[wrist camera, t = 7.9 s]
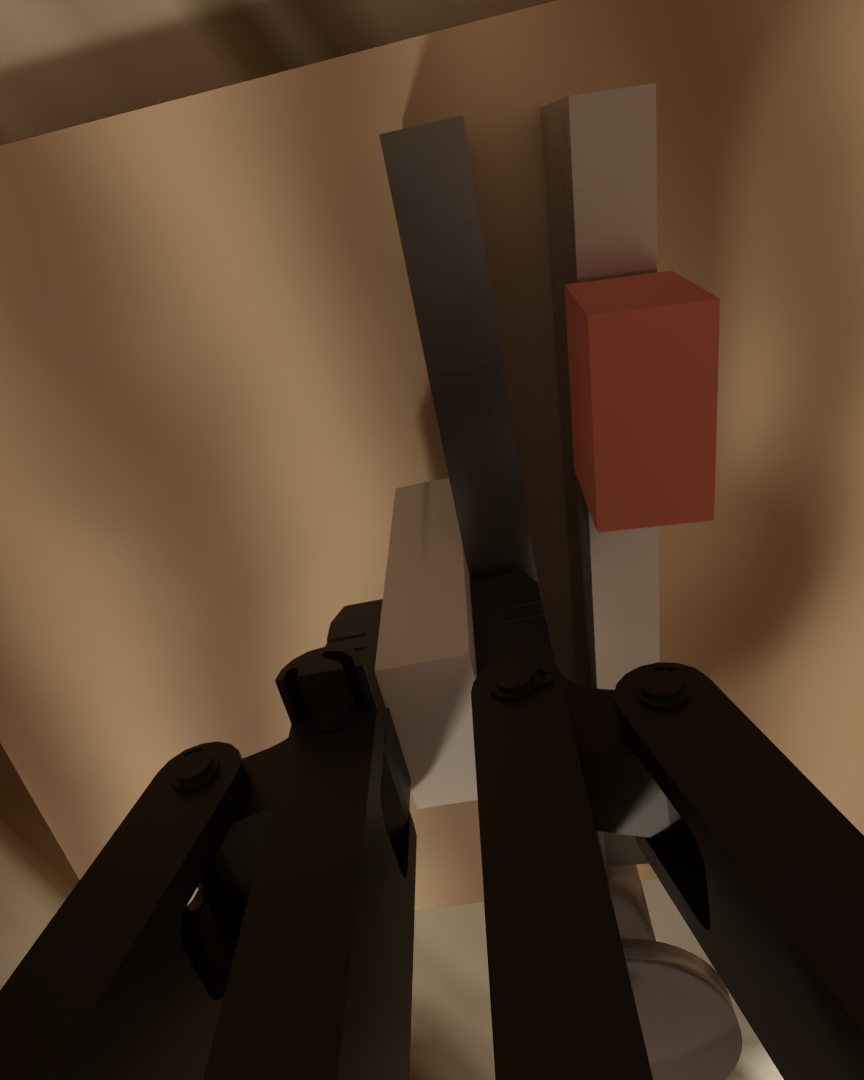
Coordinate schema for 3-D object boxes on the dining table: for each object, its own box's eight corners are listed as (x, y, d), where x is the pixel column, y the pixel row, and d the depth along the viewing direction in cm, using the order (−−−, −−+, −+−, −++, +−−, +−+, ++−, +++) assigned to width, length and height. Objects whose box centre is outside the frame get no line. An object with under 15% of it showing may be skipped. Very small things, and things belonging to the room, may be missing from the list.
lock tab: (671, 459, 13) (714, 520, 11) (574, 469, 13) (597, 532, 11) (672, 270, 12) (719, 298, 10) (564, 284, 12) (588, 315, 10)
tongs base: (628, 840, 23) (675, 1026, 18) (538, 846, 23) (561, 1033, 18) (605, 98, 15) (679, 75, 10) (467, 117, 15) (473, 106, 10)
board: (133, 916, 27) (119, 949, 26) (-252, 218, 17) (-299, 223, 16) (961, 803, 24) (985, 834, 23) (1045, -120, 14) (1094, -142, 13)
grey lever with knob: (673, 868, 23) (745, 1108, 17) (507, 888, 24) (524, 1127, 18) (599, 91, 15) (694, 56, 9) (342, 148, 15) (273, 152, 9)
